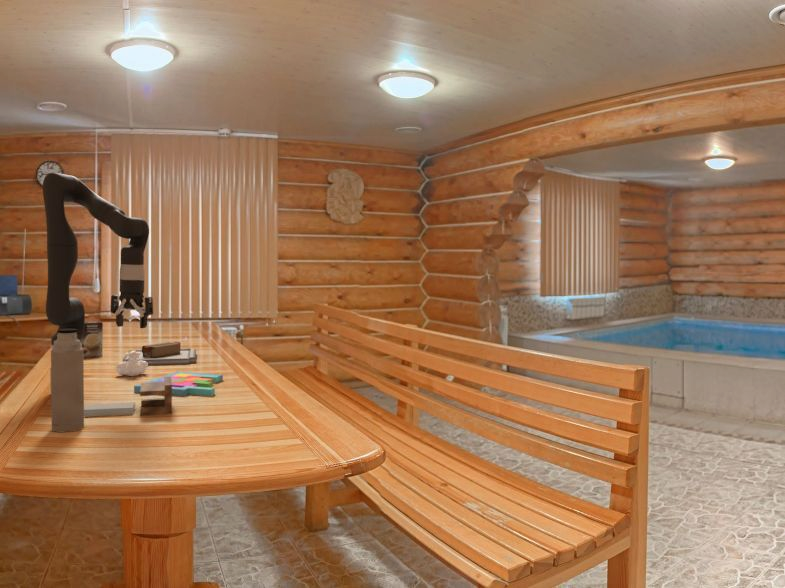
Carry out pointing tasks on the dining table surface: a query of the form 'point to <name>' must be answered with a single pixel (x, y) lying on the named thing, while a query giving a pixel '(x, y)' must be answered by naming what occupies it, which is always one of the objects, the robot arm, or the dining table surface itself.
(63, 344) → the thermos bottle
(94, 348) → the coffee box
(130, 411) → the tile
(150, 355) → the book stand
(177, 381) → the tetris game
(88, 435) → the dining table surface
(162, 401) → the shelf
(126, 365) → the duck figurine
